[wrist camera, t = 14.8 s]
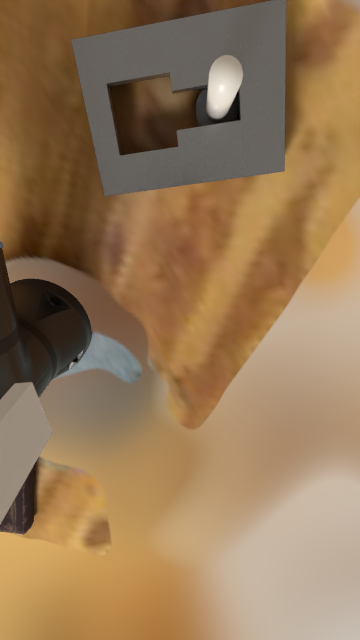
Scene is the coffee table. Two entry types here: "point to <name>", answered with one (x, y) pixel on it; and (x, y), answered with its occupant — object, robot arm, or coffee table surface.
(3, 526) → the diary
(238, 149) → the keyhole plate
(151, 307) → the coffee table surface
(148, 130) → the coffee table surface
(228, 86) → the peg
